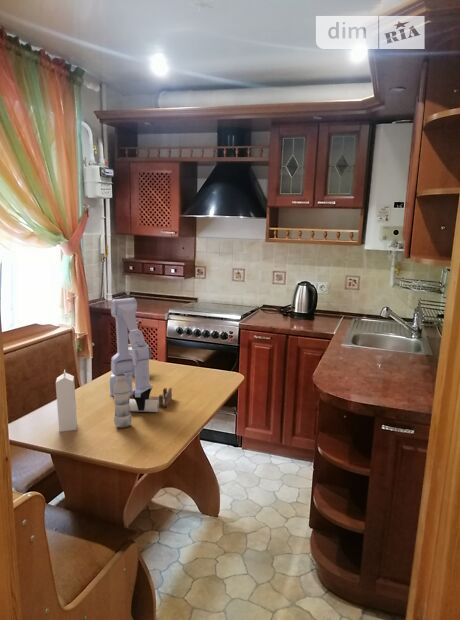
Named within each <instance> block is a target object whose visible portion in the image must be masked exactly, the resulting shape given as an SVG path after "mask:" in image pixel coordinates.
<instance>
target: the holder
mask: <svg viewBox="0 0 460 620" xmlns="http://www.w3.org/2000/svg"><path fill="white" fill-rule="evenodd" d="M172 390H173V389H172V387H169V389H168V390H167V388H166V387H164V388H163V390H162V391H163V392H162V393H163V394H159V395H158V396H150V395H149V400H159V409H167V408H168V407H169V405H170V404H171V401H172V395H173V394H172V392H173V391H172ZM134 393H135V390H134V391H133V393H132V394H131V395H130V397H129V399H134V398H133V394H134Z"/></svg>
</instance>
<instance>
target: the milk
mask: <svg viewBox="0 0 460 620" xmlns="http://www.w3.org/2000/svg"><path fill="white" fill-rule="evenodd" d="M75 386H76V385H75V376H74V375H72V374H70V373H68V372H66V369H64V371H63V373H62V374H61V375H59V376H58V377H56V380H55V391H56V404H57V405H56V406H57V408H56V409H57V417H58V418H57V419H58V420H57V422H58V432H59V433H61V432H70V431H76V430H77V429H78V428H77V427H78V426H77V425H78V419H77V404H76V400H77V399H76V387H75Z"/></svg>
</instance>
